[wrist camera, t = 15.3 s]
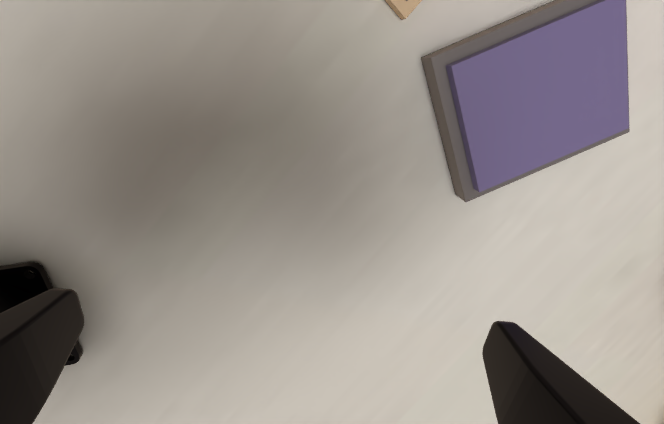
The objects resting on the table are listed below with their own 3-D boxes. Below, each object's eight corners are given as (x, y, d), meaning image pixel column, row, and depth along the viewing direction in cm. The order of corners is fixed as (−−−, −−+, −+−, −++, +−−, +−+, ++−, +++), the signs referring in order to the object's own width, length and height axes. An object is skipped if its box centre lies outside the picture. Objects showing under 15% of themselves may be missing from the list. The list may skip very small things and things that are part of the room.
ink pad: (455, 194, 22) (471, 206, 21) (421, 57, 19) (436, 57, 17) (611, 127, 22) (639, 133, 21) (604, -21, 19) (636, -28, 17)
